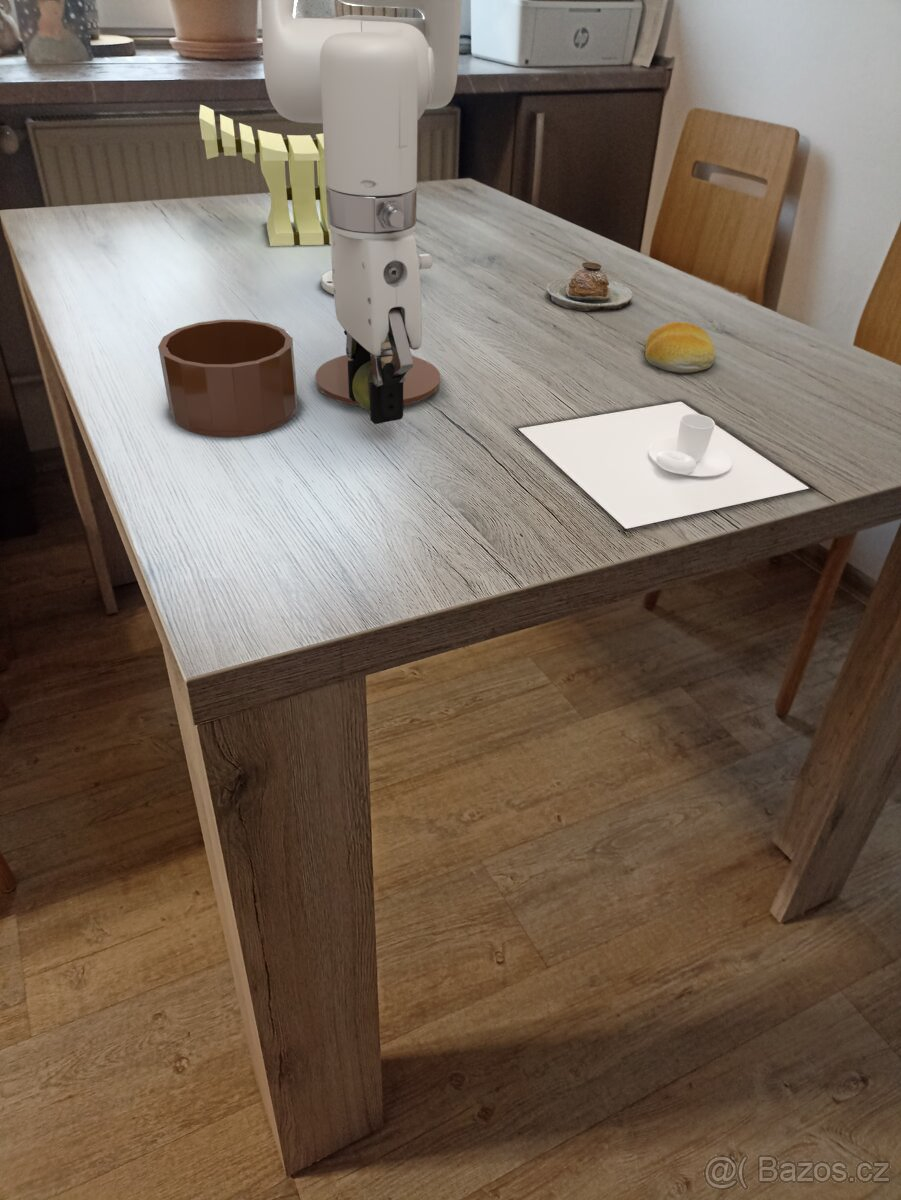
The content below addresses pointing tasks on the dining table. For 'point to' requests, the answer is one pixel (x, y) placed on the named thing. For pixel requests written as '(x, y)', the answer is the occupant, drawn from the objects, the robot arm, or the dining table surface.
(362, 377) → the lime
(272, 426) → the pot
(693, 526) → the dining table surface
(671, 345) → the bread roll
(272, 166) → the slatted curved stool
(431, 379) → the lid
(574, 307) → the pastry
